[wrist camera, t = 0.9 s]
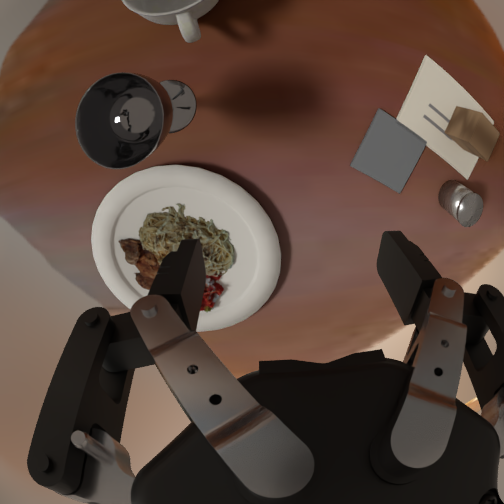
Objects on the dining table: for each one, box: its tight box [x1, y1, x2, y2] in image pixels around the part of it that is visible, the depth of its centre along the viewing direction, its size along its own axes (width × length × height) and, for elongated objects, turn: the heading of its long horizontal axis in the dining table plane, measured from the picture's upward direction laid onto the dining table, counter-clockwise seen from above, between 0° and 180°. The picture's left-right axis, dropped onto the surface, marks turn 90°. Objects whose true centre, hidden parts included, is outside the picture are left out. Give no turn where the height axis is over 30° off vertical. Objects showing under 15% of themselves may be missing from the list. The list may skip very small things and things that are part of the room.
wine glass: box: [75, 72, 196, 169], centre depth 24 cm, size 8×8×15 cm
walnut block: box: [444, 106, 500, 162], centre depth 27 cm, size 5×5×6 cm
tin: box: [438, 180, 483, 227], centre depth 34 cm, size 5×5×6 cm
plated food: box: [91, 165, 281, 331], centre depth 41 cm, size 30×30×3 cm
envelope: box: [396, 55, 494, 180], centre depth 30 cm, size 12×17×1 cm
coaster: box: [350, 108, 427, 194], centre depth 33 cm, size 9×9×1 cm
